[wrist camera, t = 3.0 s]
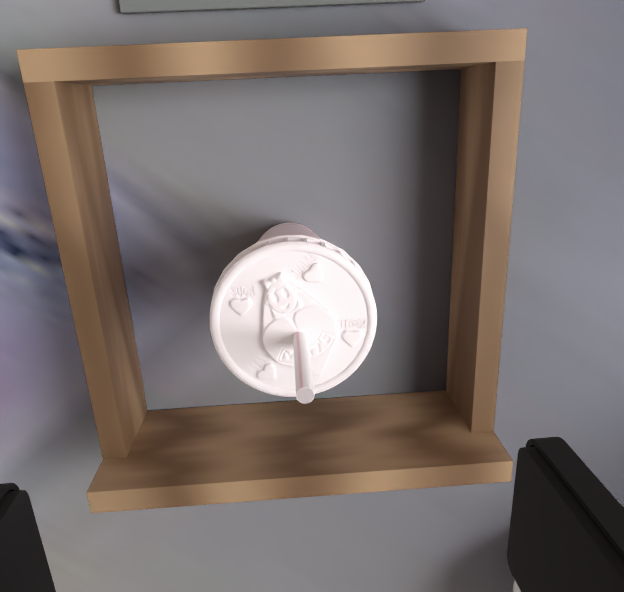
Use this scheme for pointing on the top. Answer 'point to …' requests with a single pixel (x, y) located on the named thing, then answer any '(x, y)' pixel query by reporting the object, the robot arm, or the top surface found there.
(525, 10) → the top surface
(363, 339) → the smoothie
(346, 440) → the frame
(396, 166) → the top surface
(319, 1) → the rubber mat
